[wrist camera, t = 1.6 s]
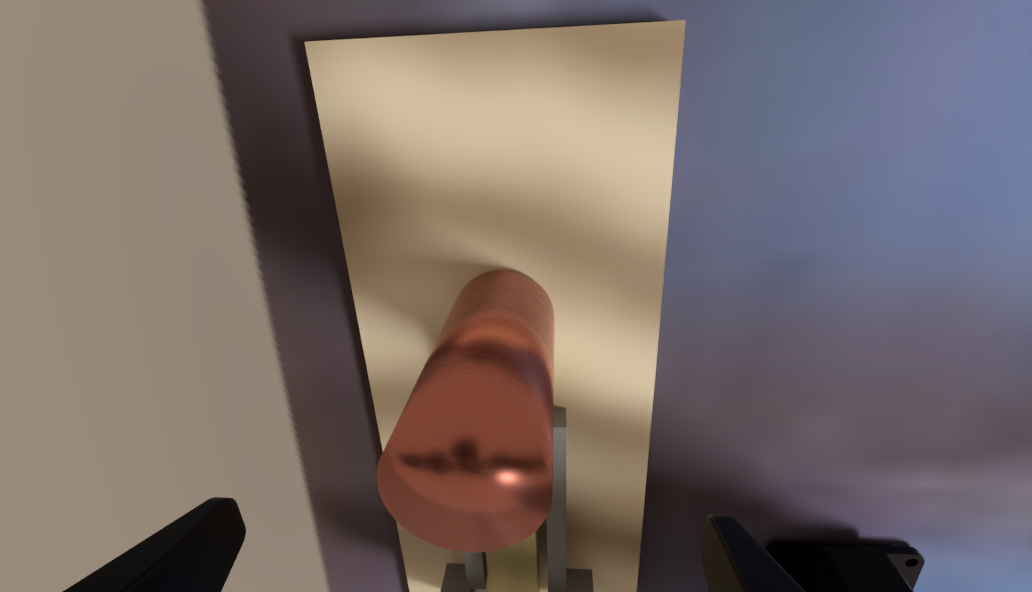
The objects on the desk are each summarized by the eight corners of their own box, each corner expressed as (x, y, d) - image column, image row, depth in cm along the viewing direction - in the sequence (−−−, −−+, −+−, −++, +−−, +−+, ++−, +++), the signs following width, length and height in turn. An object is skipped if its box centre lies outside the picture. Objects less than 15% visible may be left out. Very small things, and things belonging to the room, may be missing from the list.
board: (629, 620, 25) (656, 813, 18) (421, 609, 26) (375, 789, 19) (677, 24, 14) (783, -34, 7) (319, 44, 15) (134, 8, 8)
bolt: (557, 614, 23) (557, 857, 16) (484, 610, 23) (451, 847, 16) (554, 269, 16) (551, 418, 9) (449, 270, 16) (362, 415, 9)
